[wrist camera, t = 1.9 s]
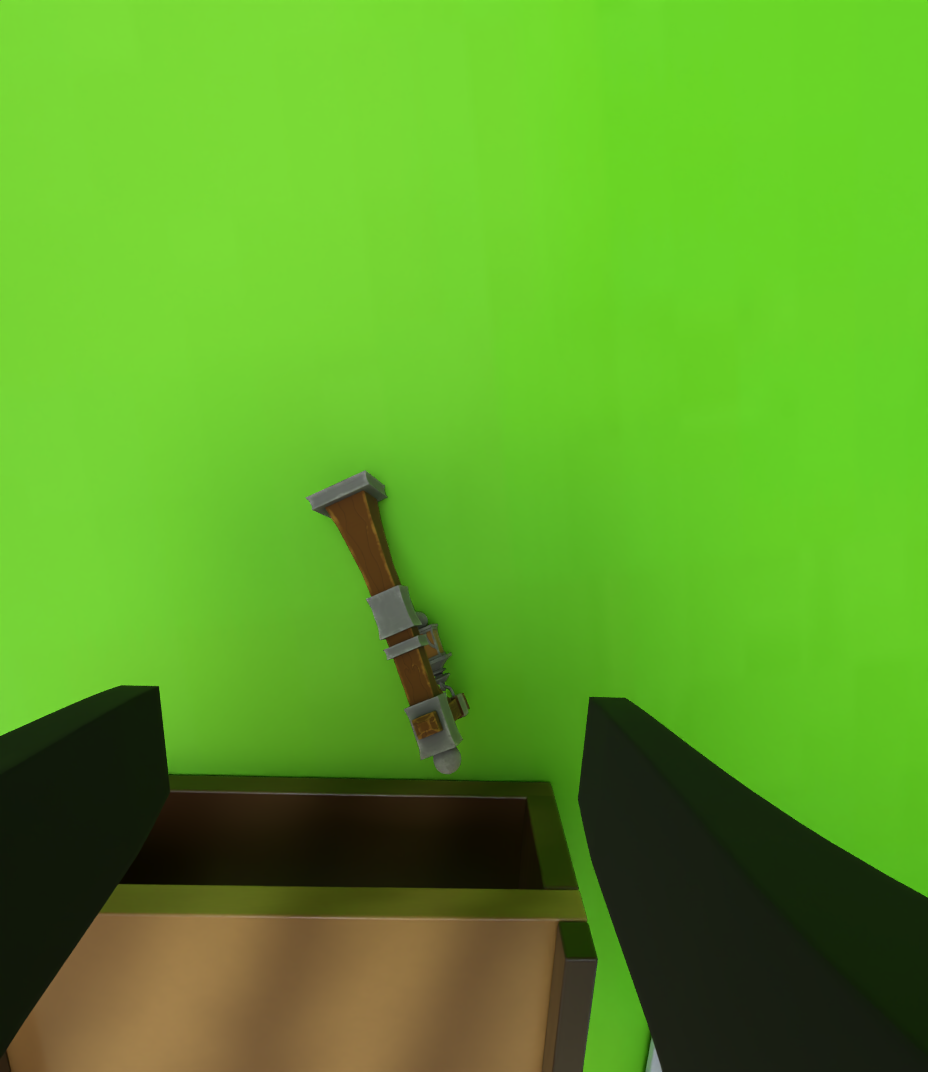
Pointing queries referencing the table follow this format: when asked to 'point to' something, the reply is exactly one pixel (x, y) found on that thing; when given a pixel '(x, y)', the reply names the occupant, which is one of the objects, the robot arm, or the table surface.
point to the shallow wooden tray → (330, 936)
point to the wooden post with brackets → (398, 619)
